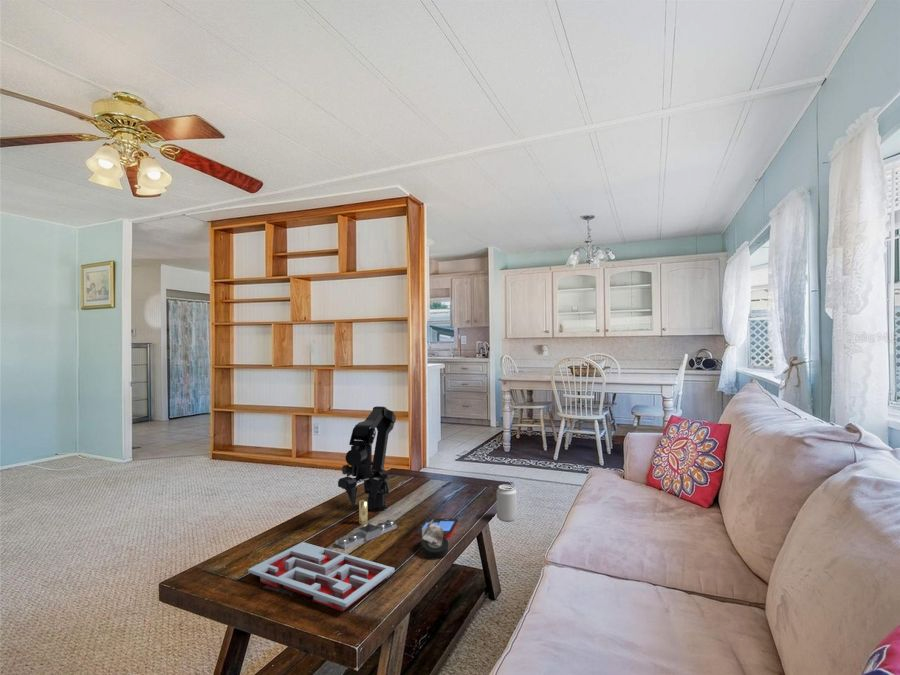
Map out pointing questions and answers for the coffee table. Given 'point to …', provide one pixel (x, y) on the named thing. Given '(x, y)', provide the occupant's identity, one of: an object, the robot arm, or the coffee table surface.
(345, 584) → the maze game
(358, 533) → the studded bracket plate
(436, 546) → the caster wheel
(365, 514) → the link pin
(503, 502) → the can
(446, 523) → the game console
